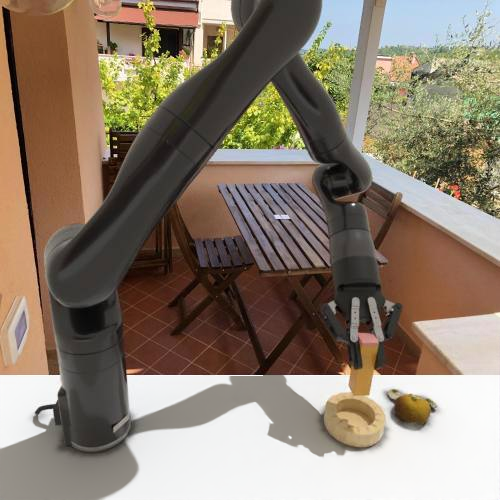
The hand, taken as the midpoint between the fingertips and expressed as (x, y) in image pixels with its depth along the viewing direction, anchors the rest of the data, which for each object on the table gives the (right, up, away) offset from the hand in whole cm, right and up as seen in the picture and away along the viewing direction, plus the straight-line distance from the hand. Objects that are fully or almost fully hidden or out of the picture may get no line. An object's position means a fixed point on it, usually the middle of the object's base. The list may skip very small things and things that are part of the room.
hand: (368, 368), depth 64 cm
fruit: (+11, -10, +11) cm, 18 cm away
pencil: (-1, -5, +4) cm, 6 cm away
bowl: (-1, -11, +7) cm, 13 cm away
